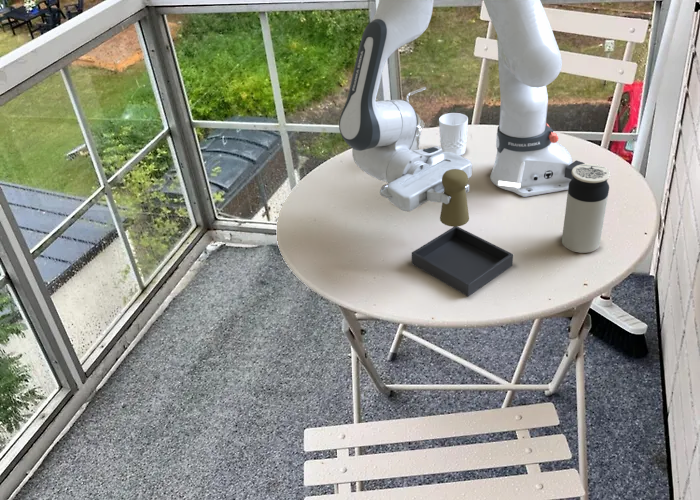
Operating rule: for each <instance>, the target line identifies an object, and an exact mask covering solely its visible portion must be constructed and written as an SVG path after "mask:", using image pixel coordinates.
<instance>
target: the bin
mask: <svg viewBox="0 0 700 500" xmlns="http://www.w3.org/2000/svg"><path fill="white" fill-rule="evenodd" d="M513 261H514V253H511V252H510V251H508V250H506V249H504V248H502V247H500V246H498V245H496V244H495V243H492V242H489V241H488V240H486V239H483V238H482V237H479V236H477V235H475V234H473V233H471V232H469V231H468V230H465V229H463V228H462V227H461V226H456V227H453V226H452V227H451V228H449V229H447V230H446V231H444V232H443V233H441V234H439V235H438V236H436V237H434V238H433V239H432V240H430V241H428V242H427V243H424V244H423V245H421V246H420V247H418V248H416V249H415V250H413V251H412V252H411V265H413V266H415V267H416V268H418V269H420V270H422V271H423V272H425V273H427V274H429V275H430V276H432V277H433V278H435V279H437V280H439V281H440V282H442V283H444V284H445V285H447V286H449V287H451V288H453V289H454V290H456V291H457V292H459V293H461V294H463V295H464V296H466V297H470V296H471V295H473V294H475V293H476V292H477V291H479V290H480V289H482V288H483V287H484V286H486V285H487V284H488V283H490V282H492V281H493V280H494V279H496V278H497V277H498V276H500V275H501V274H503V273H504V272H506V271H507V270H509V269H510V268H511V267H512V266H513Z"/></svg>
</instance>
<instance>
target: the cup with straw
mask: <svg viewBox="0 0 700 500" xmlns="http://www.w3.org/2000/svg"><path fill="white" fill-rule="evenodd" d="M425 90H427V87H426V86H423V87H420V88H418V89H415V90H413V91H409V92H408V93H407V94H406V96H405V101H407V102H409V103H410V96H412V95H415V94H417V93H419V92H423V91H425ZM416 114H417V118H418V126H417V131H416V134H415V138H414V141H413V144H412V146H411V149H410V150H411V151H413V150H420V142H421V141H420V140H421V135H422V130H423V129H424V128H425V122H424V120H423V119H422V118H421V116H420V115H419V113H417V112H416Z"/></svg>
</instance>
